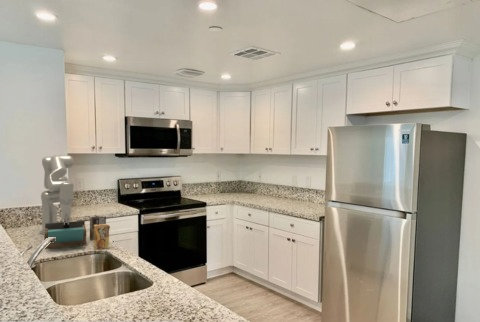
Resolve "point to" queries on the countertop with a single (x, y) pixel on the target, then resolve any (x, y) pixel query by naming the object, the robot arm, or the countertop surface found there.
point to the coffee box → (95, 221)
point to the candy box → (101, 236)
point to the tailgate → (67, 234)
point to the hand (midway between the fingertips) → (66, 230)
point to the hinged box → (60, 226)
